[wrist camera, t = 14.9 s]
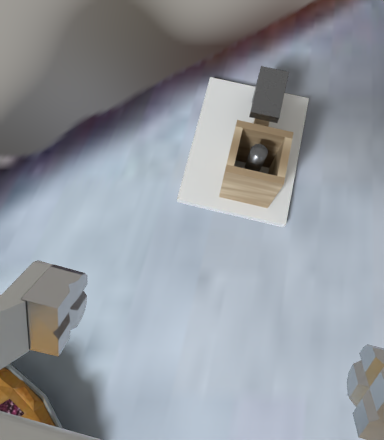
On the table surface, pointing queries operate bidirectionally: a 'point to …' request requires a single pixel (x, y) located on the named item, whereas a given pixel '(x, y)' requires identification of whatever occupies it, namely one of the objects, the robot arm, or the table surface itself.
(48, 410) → the pie
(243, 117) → the base plate
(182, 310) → the table surface
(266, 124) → the wooden pencil holder
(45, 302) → the robot arm
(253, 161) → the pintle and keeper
